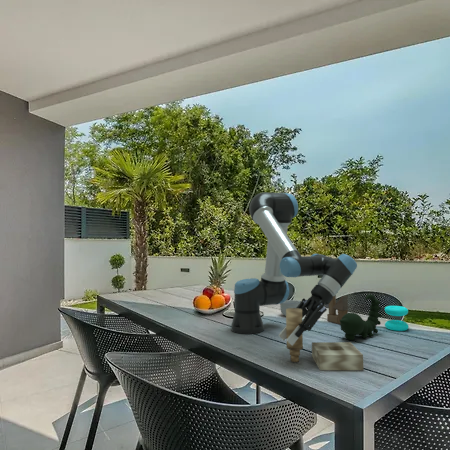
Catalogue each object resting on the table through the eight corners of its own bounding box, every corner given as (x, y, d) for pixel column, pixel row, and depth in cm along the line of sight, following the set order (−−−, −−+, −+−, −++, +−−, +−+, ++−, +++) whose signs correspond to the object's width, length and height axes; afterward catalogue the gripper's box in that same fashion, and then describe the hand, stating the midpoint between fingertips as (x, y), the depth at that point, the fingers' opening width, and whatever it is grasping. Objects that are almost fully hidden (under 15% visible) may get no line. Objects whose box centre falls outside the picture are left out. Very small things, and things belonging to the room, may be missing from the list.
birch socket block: (320, 370, 123) (319, 354, 123) (312, 356, 137) (311, 342, 137) (363, 370, 123) (362, 354, 123) (350, 356, 137) (350, 342, 137)
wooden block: (343, 325, 181) (342, 288, 182) (327, 321, 191) (326, 285, 191) (348, 324, 183) (347, 287, 183) (332, 320, 192) (331, 285, 193)
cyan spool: (399, 304, 180) (412, 308, 170) (399, 325, 179) (413, 331, 170) (380, 305, 178) (392, 309, 168) (380, 326, 178) (393, 332, 168)
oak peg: (287, 363, 129) (286, 311, 130) (285, 358, 135) (284, 308, 135) (304, 363, 129) (303, 311, 129) (301, 358, 135) (300, 307, 135)
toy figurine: (367, 334, 171) (330, 338, 157) (368, 292, 172) (331, 293, 158) (386, 339, 163) (348, 344, 149) (387, 295, 164) (350, 296, 151)
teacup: (287, 318, 197) (286, 303, 197) (276, 314, 207) (276, 300, 207) (309, 316, 202) (308, 301, 203) (297, 312, 212) (297, 298, 212)
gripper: (347, 301, 128) (305, 355, 123) (318, 293, 146) (280, 340, 141) (333, 287, 127) (290, 340, 122) (305, 280, 144) (267, 327, 139)
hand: (285, 340), depth 131 cm, fingers closed on oak peg, 5 cm apart
